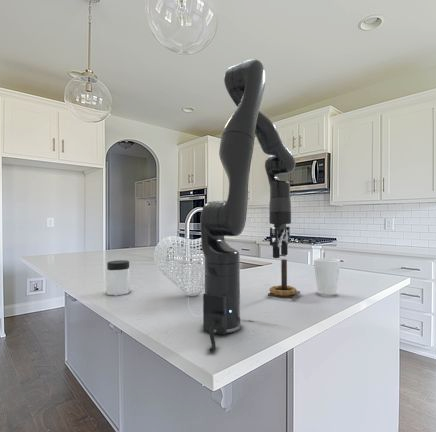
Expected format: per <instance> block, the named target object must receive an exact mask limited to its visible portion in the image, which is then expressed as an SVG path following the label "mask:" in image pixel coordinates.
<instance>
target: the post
mask: <svg viewBox="0 0 436 432" xmlns="http://www.w3.org/2000/svg"><path fill="white" fill-rule="evenodd" d="M280 260H281V261H280V271H281V272H280V273H281V274H280V275H281V277H280V278H281V280H280V281H281V284H280V286H281V290H282V291H283V290H287V286H288V260H287V259H286V258H282V259H280ZM300 294H301V291H300V290H297V293H296V294H295V295H290V296H280V295H275V294H272V293H271V292H270V291H269V293H267V296H269V297H276V298H284V299H291V300H293V299H295V298H296V297H297V296H298V295H300Z"/></svg>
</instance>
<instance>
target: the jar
mask: <svg viewBox="0 0 436 432" xmlns="http://www.w3.org/2000/svg"><path fill="white" fill-rule="evenodd" d="M105 273H106V295H108V296H116V297H117V296H121V295H123V296H124V295H128V294H129V293H130V291H131V267H130V261H129V260H124V259H123V260H121V259H120V260H118V259H117V260H111V261H107V263H106V272H105Z"/></svg>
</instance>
